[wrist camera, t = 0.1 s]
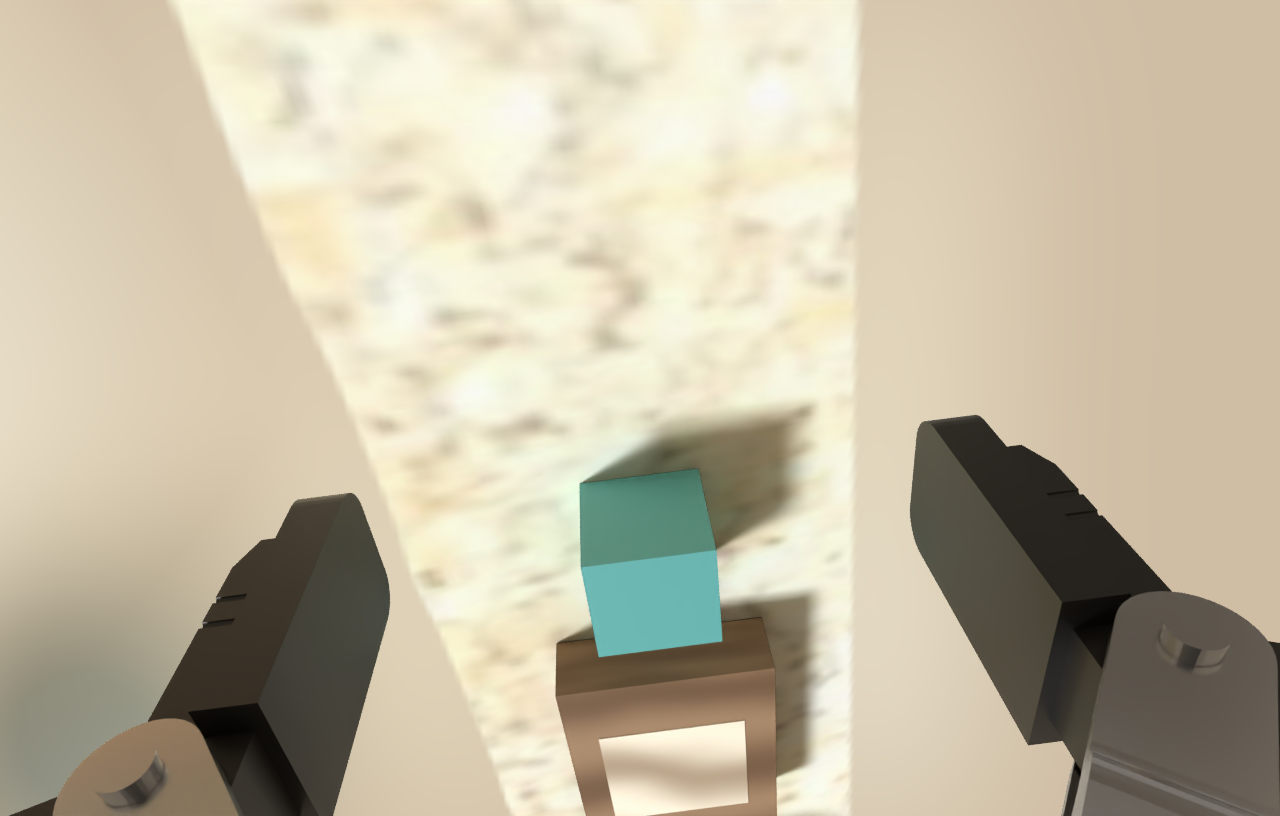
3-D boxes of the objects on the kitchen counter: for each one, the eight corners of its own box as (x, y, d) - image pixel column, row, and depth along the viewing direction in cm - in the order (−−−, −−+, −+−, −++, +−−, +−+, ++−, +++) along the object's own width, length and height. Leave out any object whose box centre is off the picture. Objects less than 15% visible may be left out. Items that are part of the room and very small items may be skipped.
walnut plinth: (556, 643, 38) (555, 697, 35) (761, 617, 38) (775, 669, 35) (595, 804, 46) (596, 858, 43) (765, 782, 46) (777, 834, 43)
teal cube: (579, 482, 33) (580, 567, 29) (697, 467, 33) (716, 550, 29) (595, 568, 36) (598, 657, 31) (704, 554, 36) (722, 641, 32)
